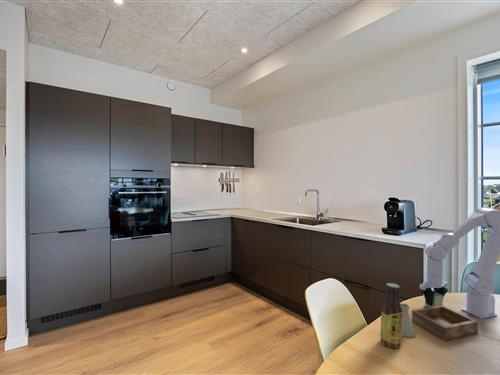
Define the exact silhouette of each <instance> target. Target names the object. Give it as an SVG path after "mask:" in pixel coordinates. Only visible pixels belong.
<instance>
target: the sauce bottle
mask: <svg viewBox="0 0 500 375" xmlns="http://www.w3.org/2000/svg"><path fill="white" fill-rule="evenodd" d="M385 286H386V294H385V296H386V297H385V299H384V300H383V301H382V303H381V307H382V308H381V315H380V316H381V318H380V341H381V343H382V345H384V346H386V347H388V348H391V349H399V348H400V347H401V344H402V342H403V341H402V338H403V336H402V317H403V311H402V308H401V304H400V303H401V301H400V291H401V287H400V285H399V284H396V283H393V282H388V283H386V284H385Z"/></svg>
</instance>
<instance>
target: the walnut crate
mask: <svg viewBox="0 0 500 375" xmlns="http://www.w3.org/2000/svg"><path fill="white" fill-rule="evenodd" d="M411 323H413V324H415V325H417V326H418V327H420V328H421V329H423V330H425V331H427V332H429V333H430V334H432V335H434V336H435V337H437V338H439V339H440V340H442V341H444V342H449V341H453V340H458V339H463V338H465V337H471V336H474V335H477V334H479V333H478V332H479V330H478V329H479V321H478V320H476V319H474V318H472V317H470V316H467V315H466V314H463V313H460V312H459V311H456V310H454V309H452V308H449V307H447V306H446V305H444V304H443V305H440V306H434V307H425V308H418V309H414V310H413V309H412V310H411Z"/></svg>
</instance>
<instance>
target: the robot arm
mask: <svg viewBox="0 0 500 375" xmlns="http://www.w3.org/2000/svg"><path fill="white" fill-rule="evenodd" d="M478 227H485V228H486V229H487V231H488V232H489V233H488V235H487V237H486V241H485V243H484V244H483V248H482V250H481V252H480V255H479V257H478V259H477V262H476V265H475V266H474V267H472V268H471V269H470V270H469V272H468V273H466V274H465V276H464V279H463V280H464V282H465V284H466V286H467V287H466V306H465V307H461V308H460V310H461V311H464V312H465V313H468V314H471V315H473V316H475V317H477V318H479V319H486V318H491V317H495V316H498V313H496V312H495V311H496V309H495V308H496V299H495V296H494V295H493V292H494V290H495V289H494V288H495V287H494V282H495V278H494V275H493V272H494V270H495V267H496V266H497V263H498V260H499V258H500V209H492V208H487V207H480V208H477V209H476V210H474V212H472V213H471V214H470V215H469V217H467V219H465V220H464V222H462V223H461V224H460V225H459V226H457V228H455V229H454V230H453V232H446V233H445V234H444V233H442V234H441V237H440V238H439V239H438V240H437V241H434V242H432V244H429V245H428V246H426V248H425V250H424V253H425V255H426V256H427V257H426V259H427V260H426V279H424V282H422V283H420V284H419V289H420V290H421V292H422V294H423V296H424V301H425V300H426V304H427V305H430V306H432V304H433V297H434V295H435V293H438V294H441V295H443V299H444V297H445V295H446V294H447V293H448V291H449V289H448V287H449V281H445V280H443V278H444V277H443V276H444V274H443V273H444V272H443V271H444V269H443V268H444V259H446V257H447V254H448V253H449V252H450V251H451V250H453V249H454V248H455V247H457V246H458V245H459V244H460V239H462V237H464V236H465V235H467V234H468V233H470V232H471V231H472V230H474V229H476V228H478Z"/></svg>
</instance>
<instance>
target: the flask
mask: <svg viewBox="0 0 500 375" xmlns="http://www.w3.org/2000/svg"><path fill="white" fill-rule="evenodd" d="M400 304H401V308H402V311H403V317H402V337H404V338H405V337H406V338H413V337H414V338H415V337H416V333H415V330H414V327H413V325H412V320H411V318H410V314H409V312H410V310H409V309H410V308H411V307H410V305H409V304H407V303H403V302H400Z"/></svg>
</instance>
